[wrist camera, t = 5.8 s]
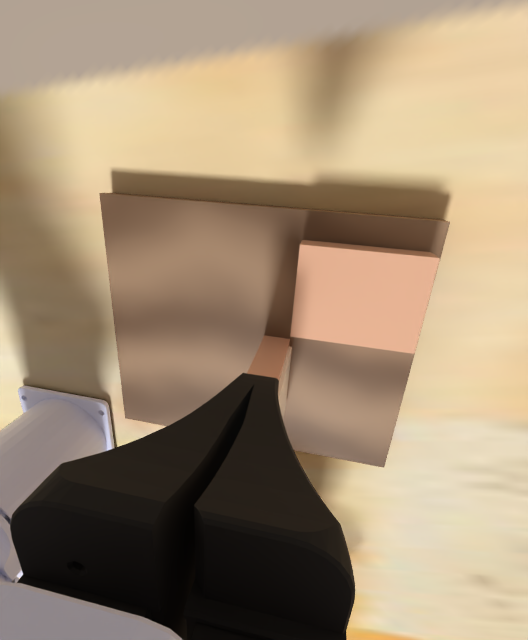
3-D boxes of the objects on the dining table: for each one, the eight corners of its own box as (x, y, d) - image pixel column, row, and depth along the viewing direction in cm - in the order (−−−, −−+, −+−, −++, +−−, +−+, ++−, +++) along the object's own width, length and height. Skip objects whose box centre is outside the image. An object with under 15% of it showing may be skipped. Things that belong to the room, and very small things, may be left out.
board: (381, 454, 24) (383, 467, 22) (133, 408, 26) (125, 418, 25) (442, 219, 17) (450, 221, 16) (112, 192, 20) (99, 193, 19)
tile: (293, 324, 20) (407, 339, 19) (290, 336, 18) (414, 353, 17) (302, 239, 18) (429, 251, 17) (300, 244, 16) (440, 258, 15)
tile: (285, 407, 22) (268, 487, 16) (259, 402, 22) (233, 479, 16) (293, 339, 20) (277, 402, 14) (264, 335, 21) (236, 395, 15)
